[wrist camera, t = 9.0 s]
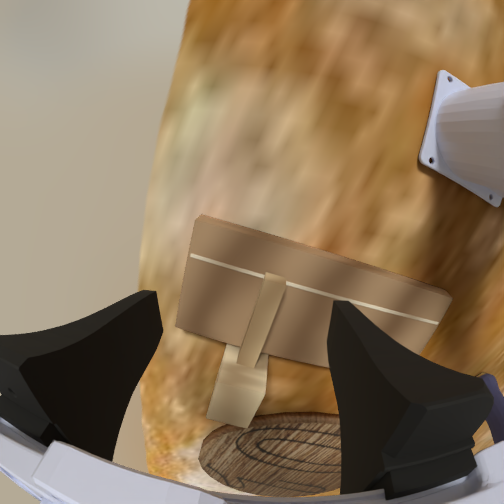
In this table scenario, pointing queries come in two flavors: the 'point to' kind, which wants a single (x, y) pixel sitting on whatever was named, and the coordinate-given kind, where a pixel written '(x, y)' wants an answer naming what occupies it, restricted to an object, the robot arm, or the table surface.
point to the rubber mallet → (495, 408)
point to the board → (295, 292)
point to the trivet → (277, 454)
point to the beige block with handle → (247, 362)
